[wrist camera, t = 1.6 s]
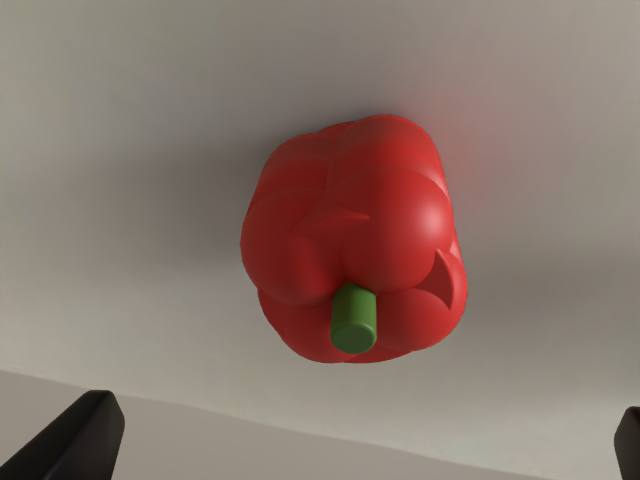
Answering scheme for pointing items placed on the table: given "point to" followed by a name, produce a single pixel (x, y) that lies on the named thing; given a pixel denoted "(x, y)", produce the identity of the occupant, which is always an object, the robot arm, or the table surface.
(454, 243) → the pepper
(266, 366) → the table surface
